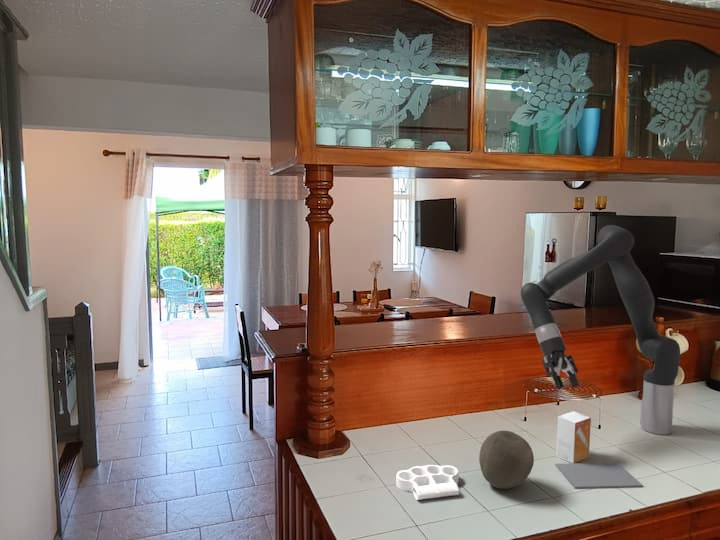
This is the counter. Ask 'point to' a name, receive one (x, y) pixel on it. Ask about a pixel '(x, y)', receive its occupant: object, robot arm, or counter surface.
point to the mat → (597, 475)
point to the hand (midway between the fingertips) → (568, 387)
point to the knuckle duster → (429, 481)
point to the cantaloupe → (505, 459)
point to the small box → (573, 437)
